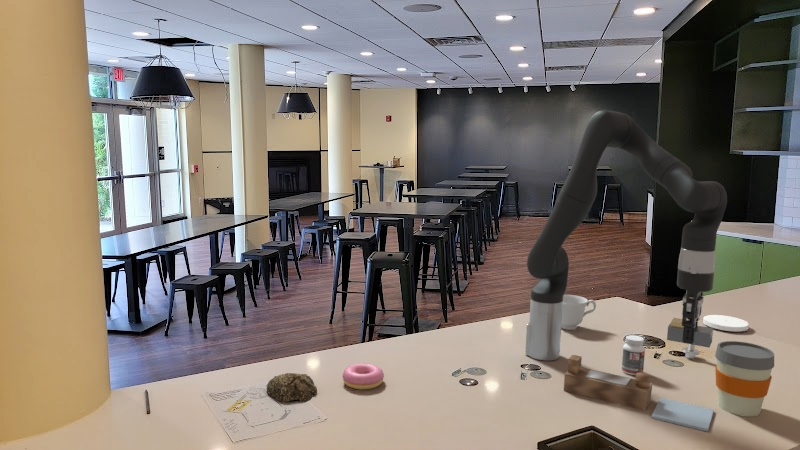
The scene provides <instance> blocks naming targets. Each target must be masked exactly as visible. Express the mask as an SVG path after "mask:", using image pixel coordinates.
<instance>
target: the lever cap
mask: <svg viewBox="0 0 800 450" xmlns="http://www.w3.org/2000/svg"><path fill="white" fill-rule="evenodd" d="M686 321H688V320H686ZM683 329H684V327H683V326H682V318H680V317H679V318H677V317H673V318H672V319H671V322H670V323H669V325H668V326H667V333H666V335H667V336H666V340H667V341H669V342H671V341H672V342H676V343H682V344H687V345H689V343H684V342H683ZM713 335H714V328H712V327H709V326H701V325H698V326H696V327H695V329H694V340H693V343H692V345H695V346H699V347H703V348H704V347H705V348H709V349H710V348H711V346H712V343H713Z"/></svg>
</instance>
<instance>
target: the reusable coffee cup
mask: <svg viewBox="0 0 800 450" xmlns="http://www.w3.org/2000/svg"><path fill="white" fill-rule="evenodd" d="M714 357H715V359H716V365H715V367H714V369H715V370H714V371H715V385H716V387H717V392H718V393H717V396H718V407H719V408H720V409H722V410H723V411H725V412H728V413H729V414H732V413H733V414H732V415H735V416H743V417H756V416H759V415H760V413H761V409H762V407H763V404H764V403H763V402H764V400H765V397H766V396H768V392H769V389H770V386H771V381H772V375H771V373H772V370H773V369H774V368H775V353H774V351H773V350H771V349H770V348H768V347H764V346H762V345H759V344H755V343H750V342H745V341H738V340H737V341H736V340H727V341H725V340H724V341H721V342H718V343H717V345H716V350H715V355H714Z"/></svg>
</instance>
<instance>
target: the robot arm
mask: <svg viewBox="0 0 800 450" xmlns="http://www.w3.org/2000/svg"><path fill="white" fill-rule="evenodd" d="M607 148H618V149H621V150H623V151H625V152H626V153H629V154H630V155H632V156H633V157H634V158H635V159H637V161H638V162H639V164H640V167H641V168H642V170H643V171H644V173H646V175H648V177H650V178H651V179H652V180H653V181H655V182H656V183H658V184H659V185H661V187H663V188H664V189H665V190H667V193H668V194H669V196H671V198H672V199H673V200H674V202H675V203H676V204H677V205H678V206H679V207H680V208H681V209H683V210H684V211H687V212H689V213H693V214H694V217H693V218H692V220H691V221H690V222H688V223H686V224H684V226H683V228H682V233H681V234H682V235H681V244H680V245H681V246H680V253H679V257H678V264H677V278H676V286H677V287H678V288H679V289H681V290H685V291H686V293H684V295H683V297H682V312H681V314H682V316H681V317H682V318H681V319H682V326H683V327H684V329H683V342H684V343H683V344H686V343H689V344H692V343H693V340H694V329H695V327H696V326H699V323H698V322H699V320H700V319H701V318H700V317H701V314H702V310H703V303H704V297H705V296H704V293H707V292H710V291H712V290H713V287H714V286H713V285H714V277H715V268H716V267H715V265H716V245H717V233H718V229H719V228H720V225H721V223H722V220H723V217H724V213H725V211H726V208H727V203H728V195H727V191H726V188H725V187H724V185H722V184H721V183H720V182H718V181H712V180H709V181H708V180H707V181H706V180H705V181H698V180H696V179H695V178H693V172H692V169H691V168H690V167H689V166H688V165H687V164H686V163H684V162H683V161H682V160H680V159H679V158H677V157H676V156H674V155H673V154H671V152H669V151H667V150H666V149H664V148H663V147H662V146H660V145H659V144H658V143H657V142H656V141H655V140H653V138H652V137H650V136H649V135H648V134H647V133H646V132H645V131H644V130H643V129H642V127H640V126H639V125H638V123H636V121H635V120H634V119H633V118H632V117H631V116H630V115H628V114H626V113H624V112H620V111H613V110H607V109H606V110H605V109H603V110H598V111H596V112H594V113H593V115H592V116H591V117H590V118H589V120H588V122H587V124H586V127H585V129H584V132H583V135H582V138H581V141H580V144H579V147H578V150H577V153H576V156H575V158H574V161H573V163H572V165H571V168H570V170H569V173H568V174H567V178H566V179H565V182H564V183H563V185H562V187H561V189H560V192H559V194H558V196H557V198H556V200H555V204H554V206H553V208H552V210H551V212H550V214H549V216H548V219H547V220H546V223H545V224H544V227H543V229H542V230H541V233H540V234H539V236H538V237H537V239H536V241H535V243H534V244H533V246H532V248H531V250H530V251H529V253H528V255H527V260H526V267H527V271H528V272H529V275H530V276H532V278H535V279H539V281H538V282H537V283H536V284H535V285H534V286H533V287H532V289H531V292H530V301H529V303H530V305H529V306H530V307H529V322H528V323H527V324H526V335H525V336H526V337H525V355H526V356H528V357H531V358H532V359H534V360H538V361H539V360H540V361H546V362H547V361H549V362H550V361H556V360H558V359H559V358H560V353H561V337H562V336H561V335H562V328H561V322H562V305H563V295H565V293H566V290H567V286H568V276H569V266H570V264H569V263H570V262H569V256H568V253H567V251H566V249H565V248H563V244H564V243H565V241H566V240H567V238H568V237H569V236H570V235H571V234H572V233H573V232H575V230H576V229H577V228H578V227H579V226H580V225H581V224H582V222H584V221H585V219H586V218H587V216H588V214H589V212H590V210H591V209H592V207H593V204H594V203H595V200H596V197H597V194H598V179H597V177H598V176H597V171H598V165H599V163H600V160H601V158H602V157H603V156H602V155H603V153H604V152H605V150H606V149H607ZM686 320H688V321H686ZM689 344H688V345H689Z"/></svg>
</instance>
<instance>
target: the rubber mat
mask: <svg viewBox="0 0 800 450" xmlns="http://www.w3.org/2000/svg"><path fill="white" fill-rule="evenodd" d="M659 398H660V399H659V400H658V402H657V404H656V406H655V408H654V410H653V412H652V414H650V415H651V417H650V418H651V419H655V420H658V421H662V422H663V421H664V422H667V423H671V424H675V425H679V426H683V427H687V428H690V429H694V430H698V431H703V432H709V428H710V427H711V426H710V425H711V422H712V418H713V415H714V411H715V410H714V409H712V408H708V407H704V406H700V405H696V404H692V403H691V404H690V403H687V402H681V401H678V400H675V399H668V398H665V397H659Z"/></svg>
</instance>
